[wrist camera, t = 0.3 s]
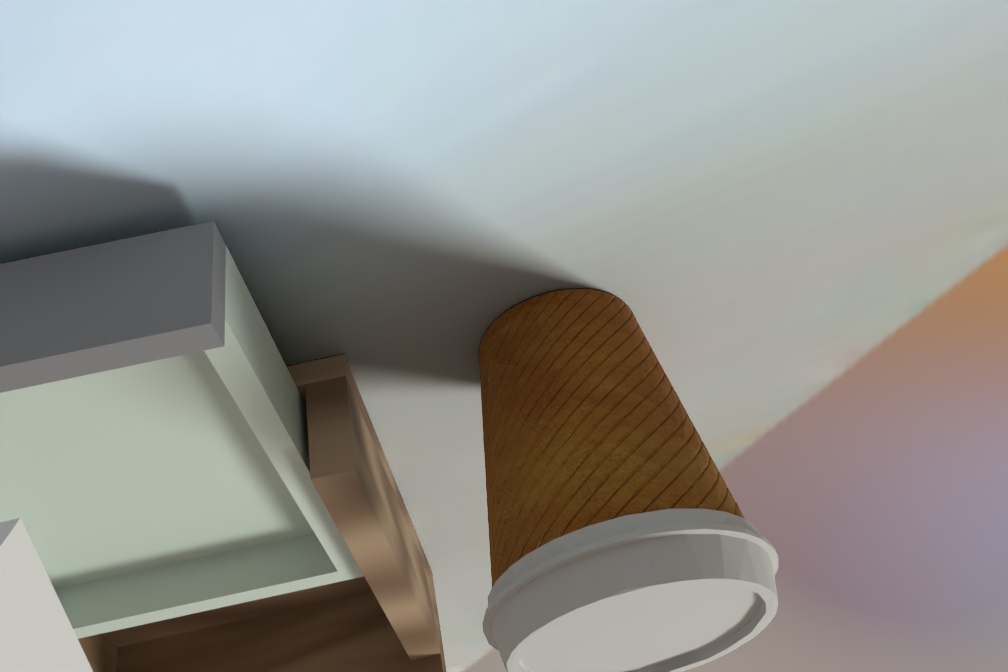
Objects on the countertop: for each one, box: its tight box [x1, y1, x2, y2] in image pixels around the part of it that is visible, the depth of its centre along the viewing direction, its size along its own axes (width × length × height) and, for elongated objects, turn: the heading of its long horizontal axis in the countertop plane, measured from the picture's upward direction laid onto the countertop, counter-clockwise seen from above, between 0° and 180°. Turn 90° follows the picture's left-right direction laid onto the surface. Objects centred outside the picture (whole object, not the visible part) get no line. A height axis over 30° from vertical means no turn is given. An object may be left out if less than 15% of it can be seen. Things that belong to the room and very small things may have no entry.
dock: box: [78, 354, 446, 672], centre depth 38 cm, size 20×18×7 cm
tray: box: [0, 221, 364, 639], centre depth 32 cm, size 19×14×4 cm
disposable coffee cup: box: [478, 289, 778, 672], centre depth 31 cm, size 10×10×12 cm
